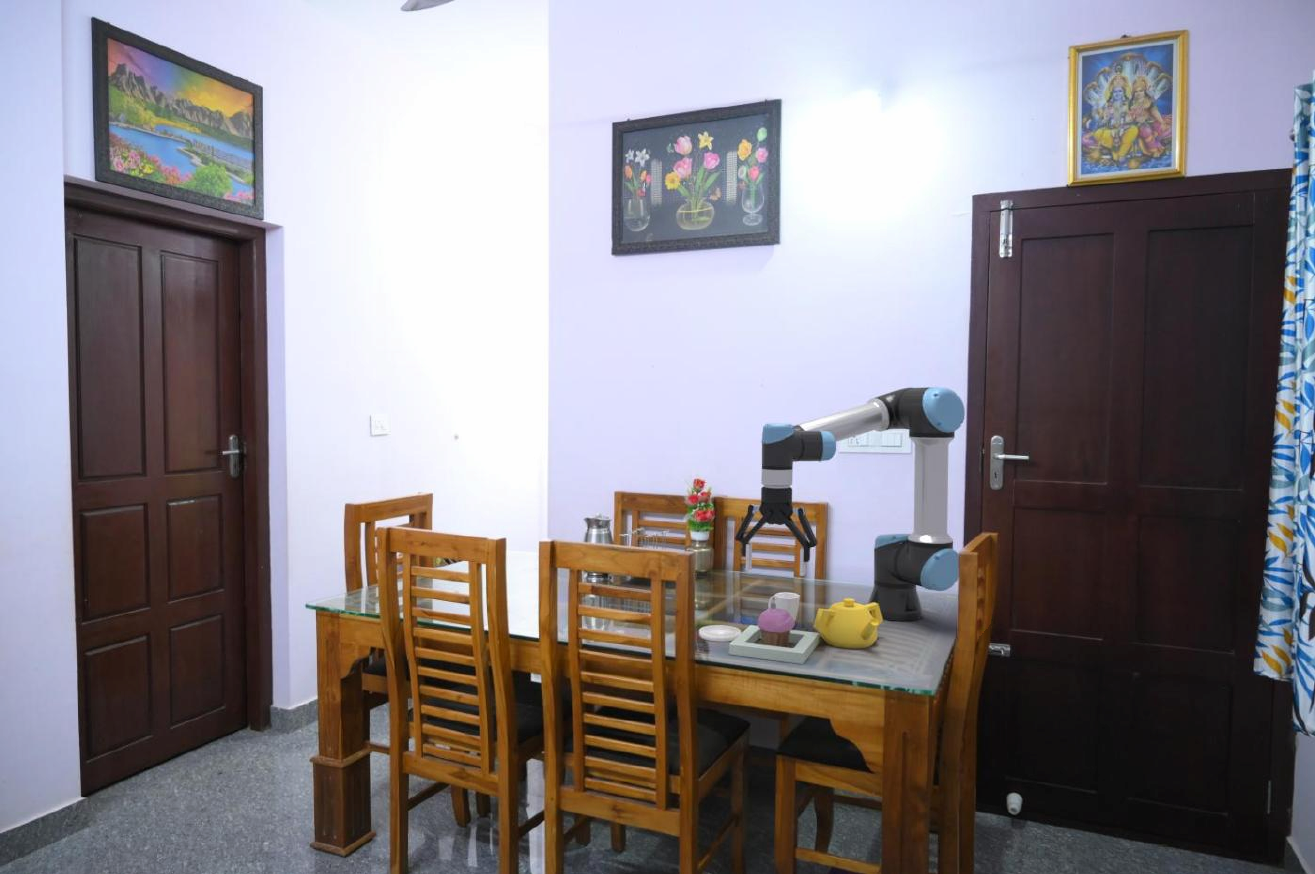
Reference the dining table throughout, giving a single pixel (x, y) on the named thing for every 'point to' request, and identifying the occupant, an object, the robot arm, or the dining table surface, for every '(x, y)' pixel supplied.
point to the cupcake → (775, 627)
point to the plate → (719, 633)
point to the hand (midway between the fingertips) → (775, 572)
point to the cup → (786, 603)
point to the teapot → (849, 624)
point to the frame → (798, 654)
